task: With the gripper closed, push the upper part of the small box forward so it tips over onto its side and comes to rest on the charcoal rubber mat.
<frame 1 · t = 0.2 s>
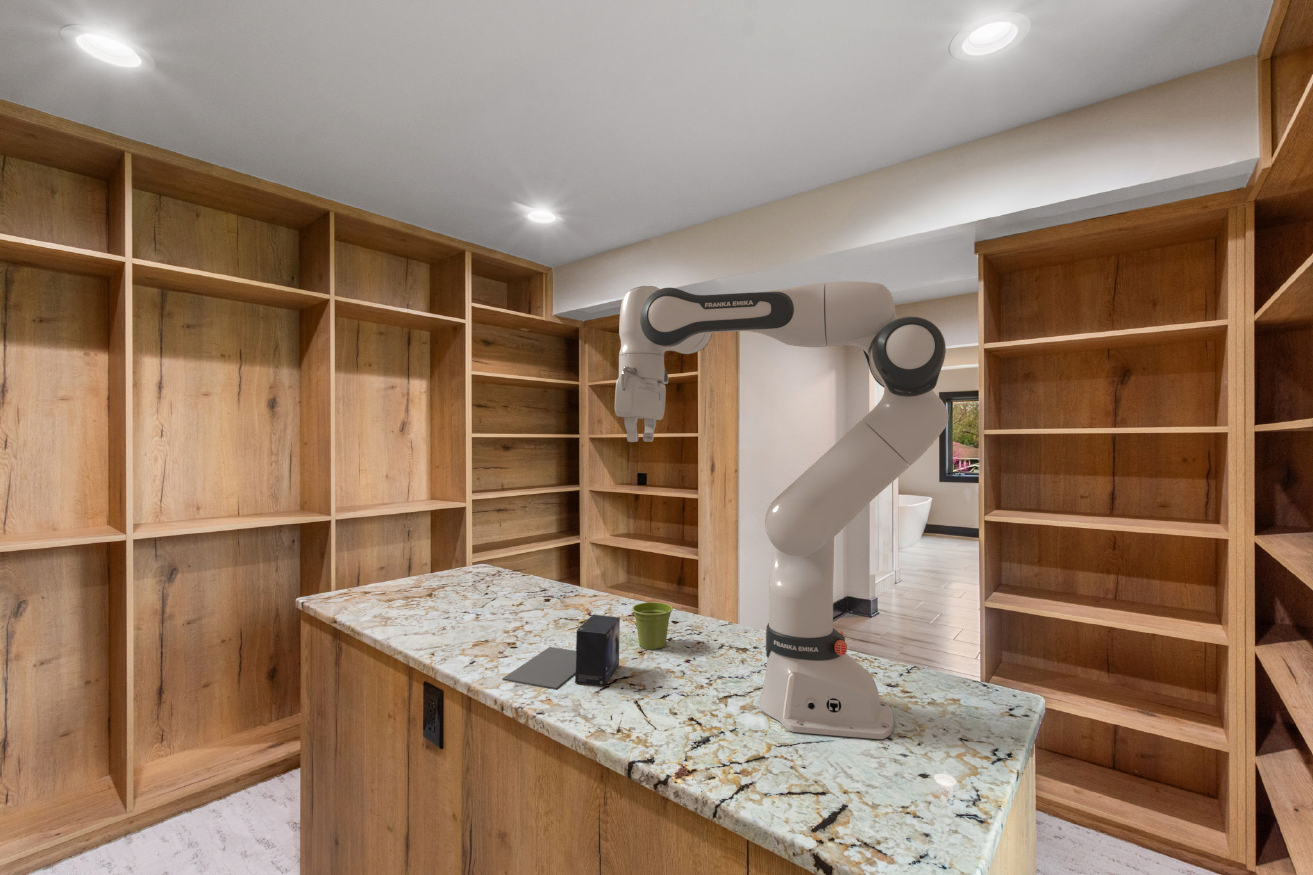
hand: (640, 441, 112), 47 cm above the counter, tool pointing down, fingers open, 8 cm apart
plant pot: (652, 646, 131), on the counter
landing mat: (552, 666, 118), on the counter
small box: (598, 675, 114), on the counter
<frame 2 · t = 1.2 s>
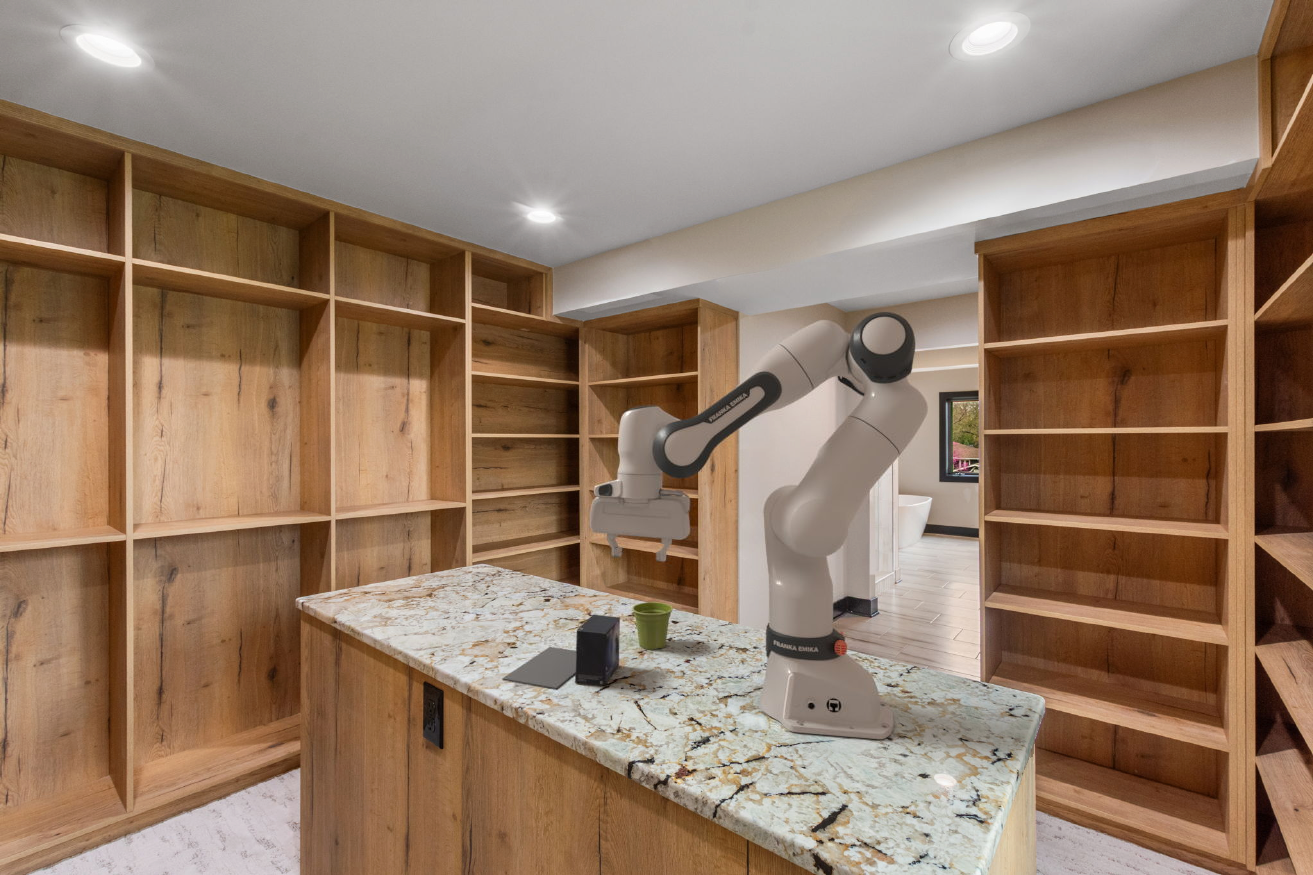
hand: (638, 558, 112), 24 cm above the counter, tool pointing down, fingers open, 8 cm apart
nothing on the counter moved.
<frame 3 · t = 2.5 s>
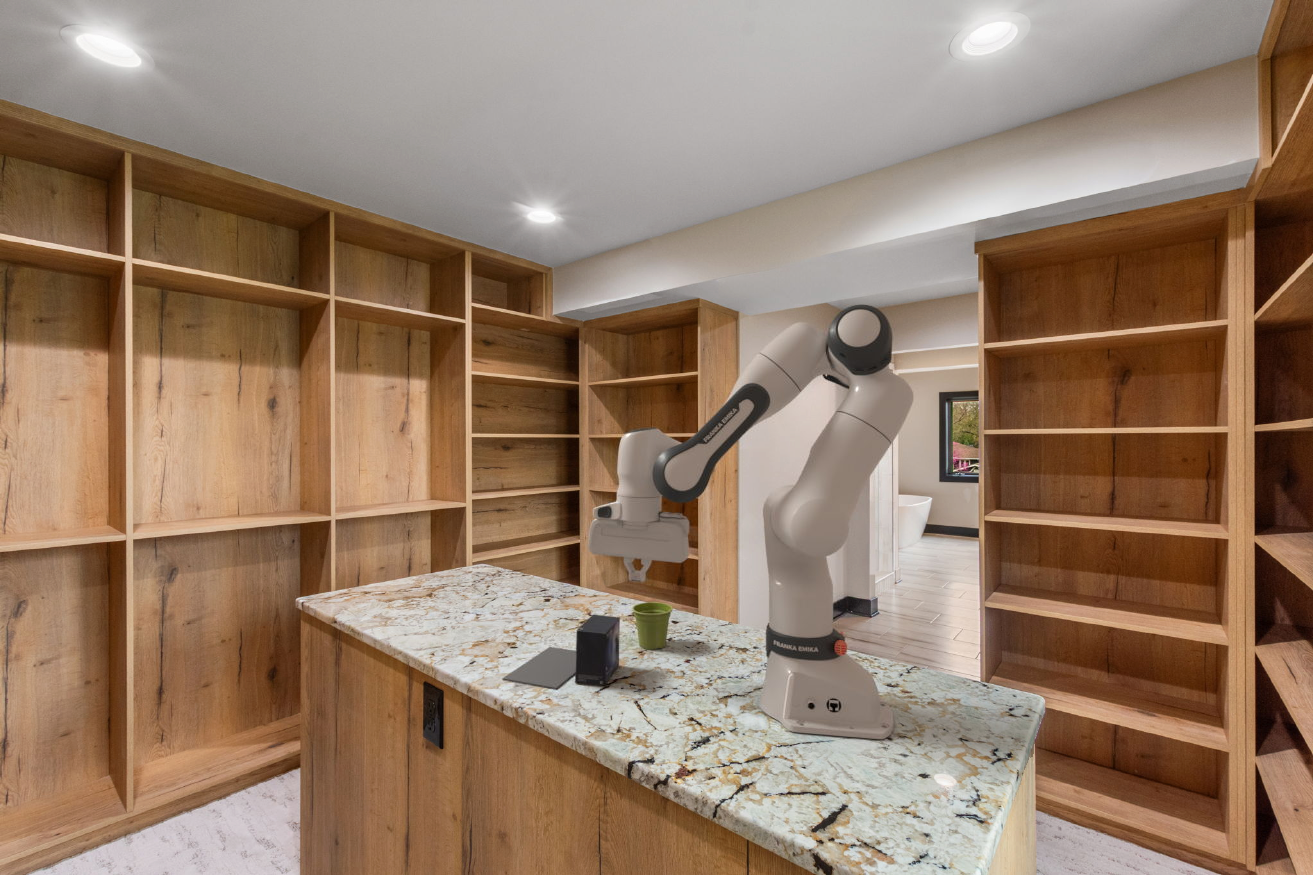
hand: (637, 580, 112), 20 cm above the counter, tool pointing down, fingers closed
nothing on the counter moved.
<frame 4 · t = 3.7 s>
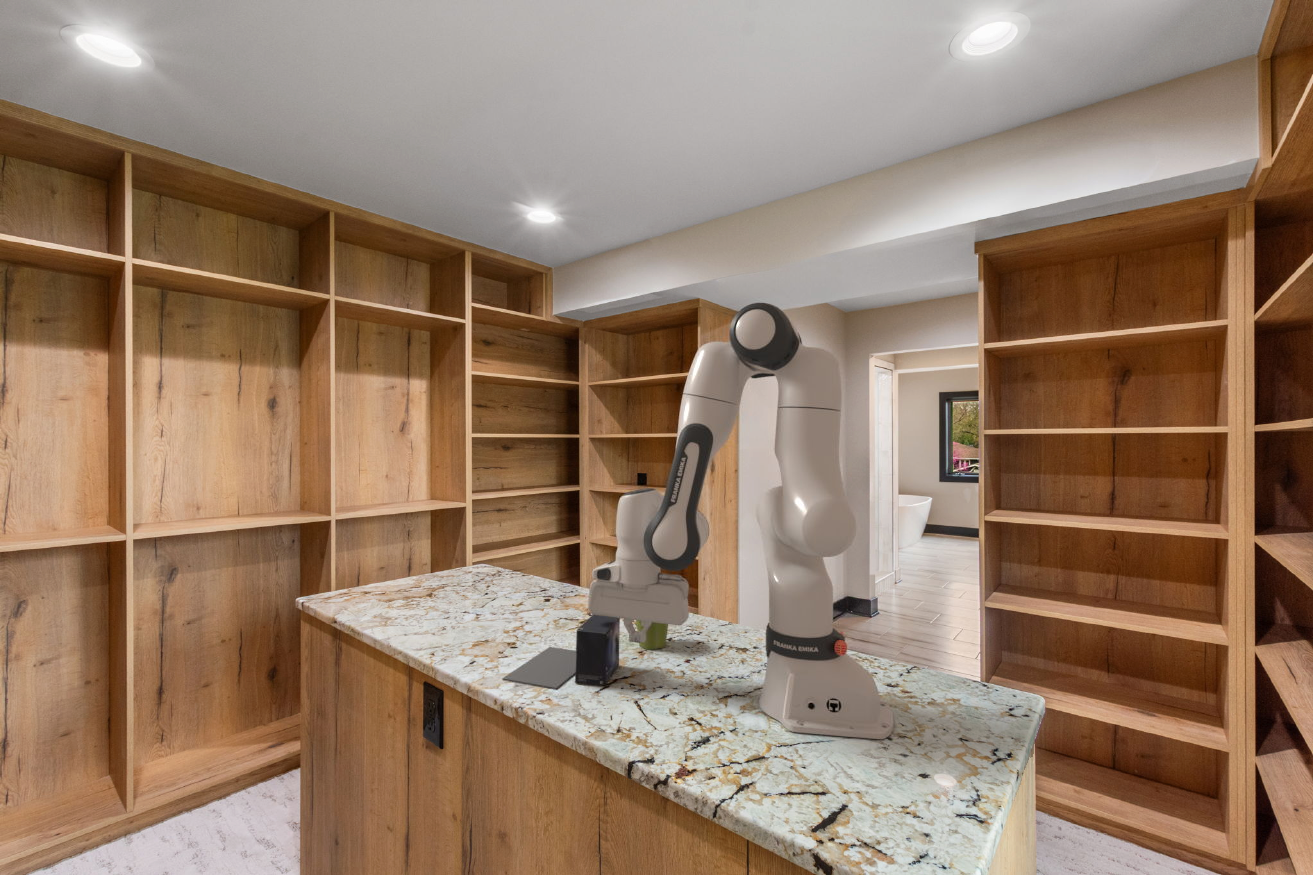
hand: (637, 641, 112), 8 cm above the counter, tool pointing down, fingers closed
nothing on the counter moved.
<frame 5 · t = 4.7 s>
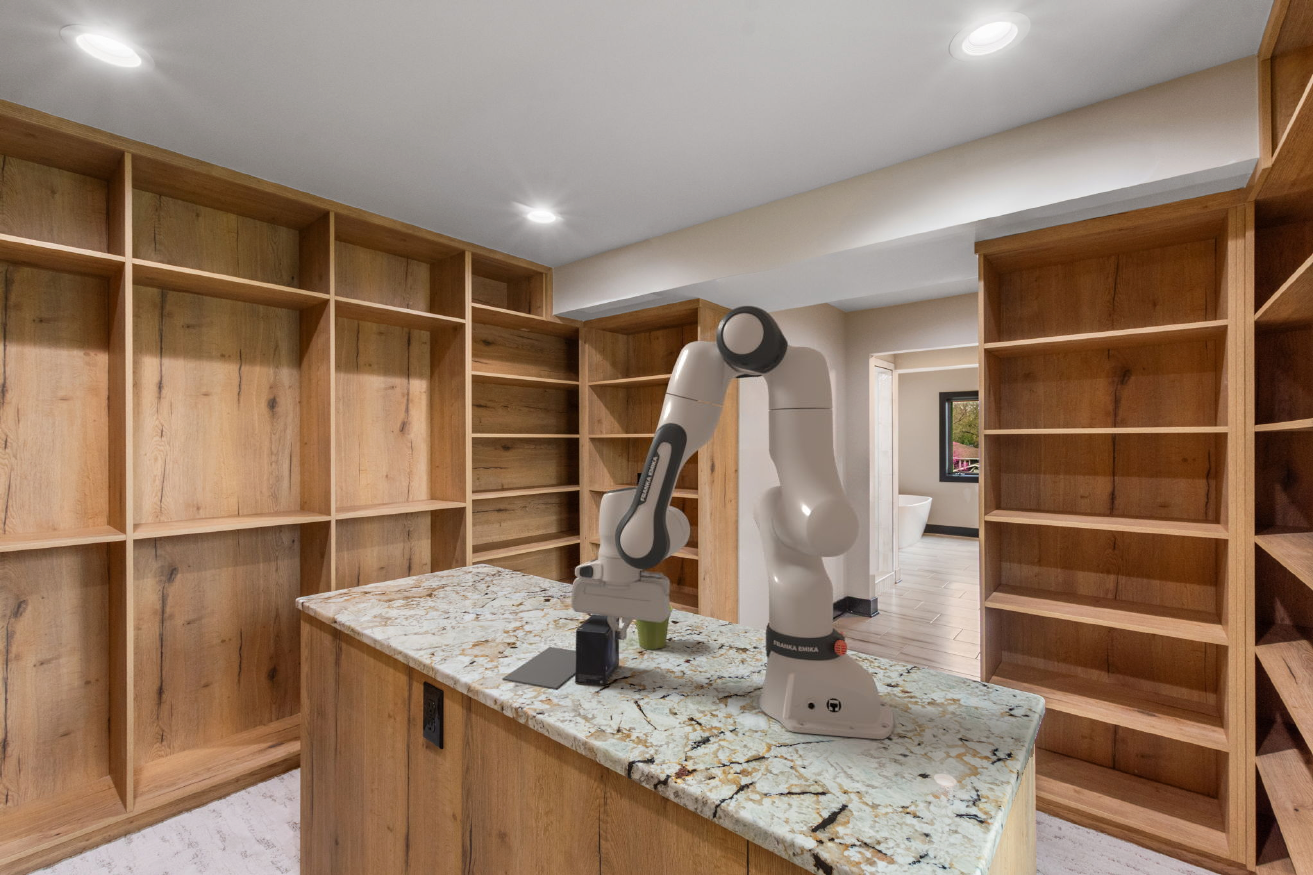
hand: (619, 638, 113), 8 cm above the counter, tool pointing down, fingers closed, pressing on small box
small box: (598, 675, 114), on the counter, touching gripper
everything else where it was.
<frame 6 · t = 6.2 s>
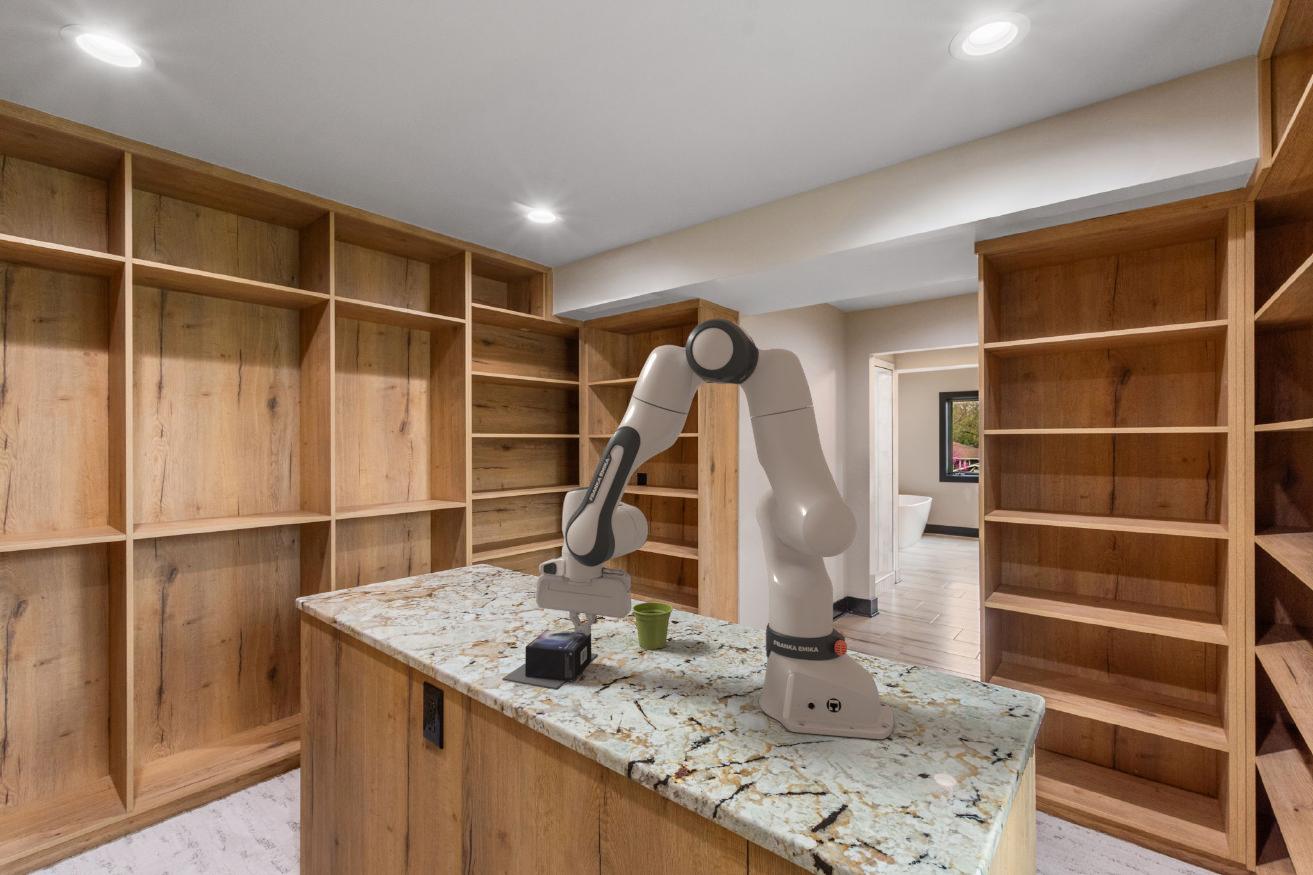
hand: (582, 633, 116), 8 cm above the counter, tool pointing down, fingers closed
small box: (584, 655, 115), point 4 cm above the counter, touching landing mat
everything else where it was.
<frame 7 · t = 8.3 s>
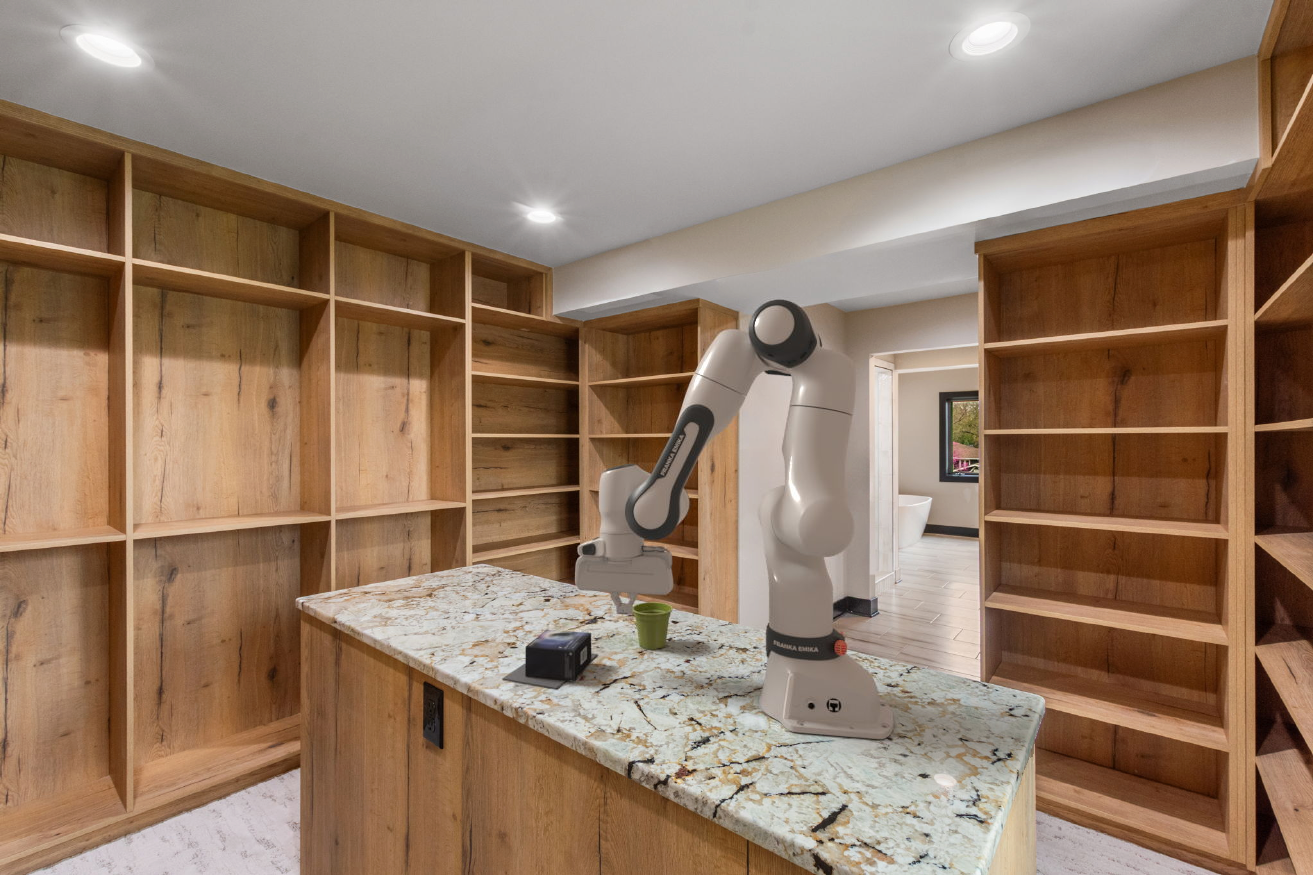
hand: (624, 613, 115), 12 cm above the counter, tool pointing down, fingers closed
nothing on the counter moved.
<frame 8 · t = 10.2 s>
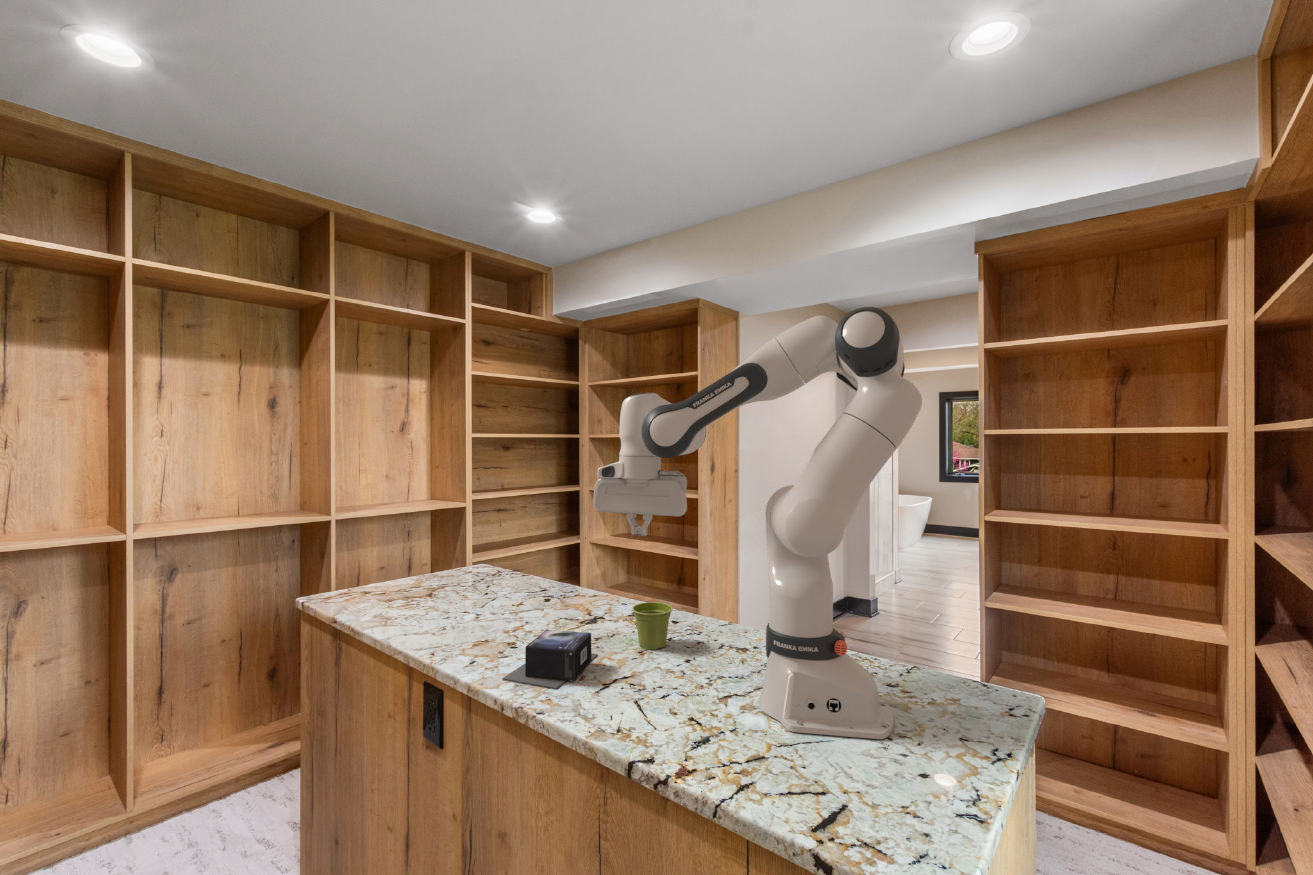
hand: (639, 535, 120), 27 cm above the counter, tool pointing down, fingers closed
nothing on the counter moved.
at the end: small box tilted 91°; small box inside the target area (3.1 cm from its centre), point 3.5 cm above the counter; small box touching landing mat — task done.
